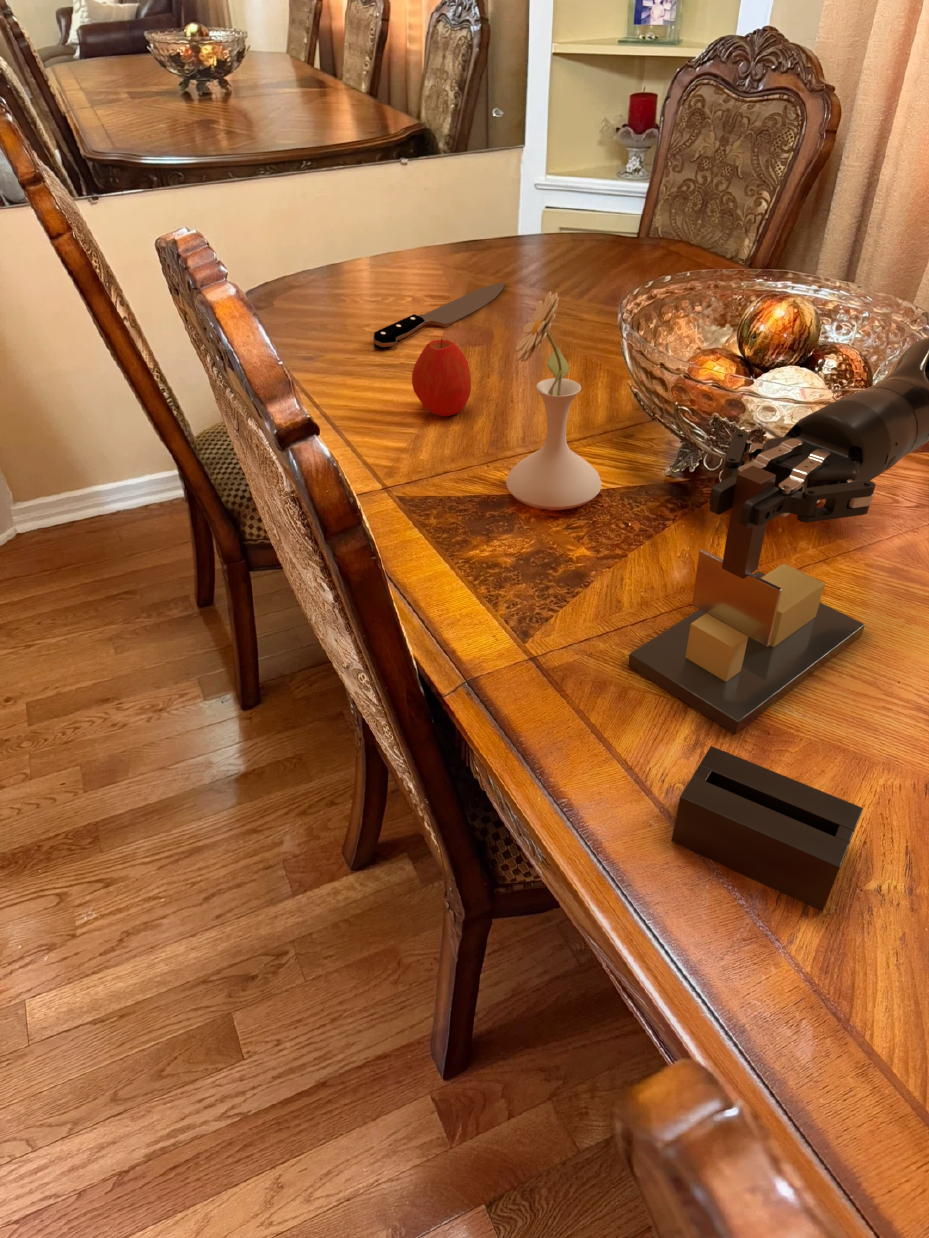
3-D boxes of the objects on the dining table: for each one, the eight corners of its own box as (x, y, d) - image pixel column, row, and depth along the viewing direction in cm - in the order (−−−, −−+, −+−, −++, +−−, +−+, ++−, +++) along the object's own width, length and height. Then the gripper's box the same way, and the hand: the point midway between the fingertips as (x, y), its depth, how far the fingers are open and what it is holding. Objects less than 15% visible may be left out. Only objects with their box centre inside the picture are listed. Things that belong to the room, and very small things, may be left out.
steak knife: (520, 290, 171) (522, 278, 170) (395, 356, 144) (395, 343, 143) (497, 283, 173) (498, 271, 172) (369, 347, 146) (369, 334, 145)
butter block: (775, 596, 88) (783, 562, 86) (815, 617, 85) (825, 583, 83) (732, 625, 85) (739, 591, 82) (773, 647, 82) (782, 613, 79)
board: (755, 582, 93) (758, 570, 92) (861, 636, 85) (865, 624, 84) (627, 665, 82) (629, 653, 81) (735, 734, 75) (738, 722, 74)
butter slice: (700, 647, 82) (706, 612, 79) (741, 671, 79) (748, 636, 77) (685, 657, 81) (690, 623, 78) (726, 682, 78) (733, 647, 76)
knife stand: (701, 789, 70) (710, 745, 67) (846, 852, 65) (863, 807, 62) (670, 841, 66) (679, 796, 63) (822, 912, 61) (840, 867, 58)
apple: (404, 418, 125) (399, 343, 119) (430, 396, 131) (427, 324, 125) (457, 428, 123) (455, 352, 116) (481, 405, 128) (481, 332, 122)
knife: (699, 599, 81) (722, 452, 72) (775, 640, 76) (809, 488, 67) (685, 609, 80) (706, 461, 71) (761, 651, 75) (794, 498, 66)
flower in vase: (524, 466, 114) (529, 263, 98) (611, 481, 110) (631, 274, 95) (487, 515, 104) (486, 300, 89) (581, 534, 100) (597, 313, 85)
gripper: (789, 377, 79) (664, 436, 71) (941, 427, 71) (820, 500, 62) (773, 454, 84) (654, 517, 75) (914, 509, 75) (798, 588, 67)
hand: (730, 509), depth 69 cm, fingers closed on knife, 2 cm apart
